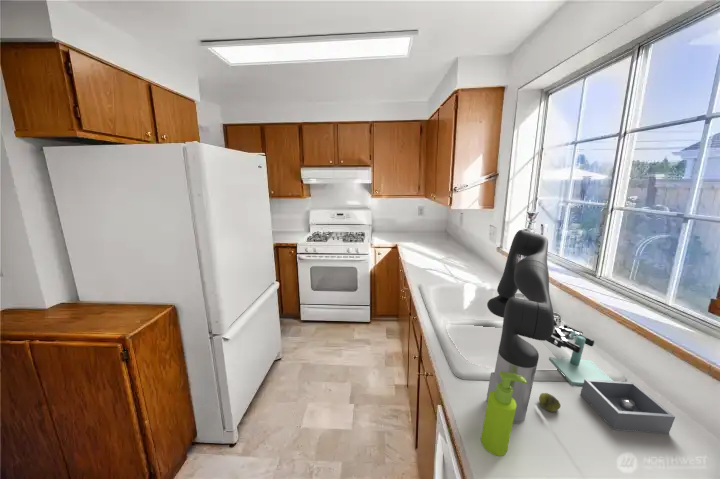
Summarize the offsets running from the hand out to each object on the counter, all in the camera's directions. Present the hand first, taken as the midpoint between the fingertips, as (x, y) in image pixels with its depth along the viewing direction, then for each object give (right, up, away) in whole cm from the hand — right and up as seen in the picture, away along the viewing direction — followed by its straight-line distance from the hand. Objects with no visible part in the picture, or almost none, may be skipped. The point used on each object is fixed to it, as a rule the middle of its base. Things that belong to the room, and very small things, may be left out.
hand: (586, 347), depth 94 cm
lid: (-2, -10, +1) cm, 10 cm away
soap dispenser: (-42, -15, -25) cm, 51 cm away
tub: (-2, -13, -14) cm, 20 cm away
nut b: (+1, -12, -13) cm, 18 cm away
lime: (-22, -13, -14) cm, 29 cm away
